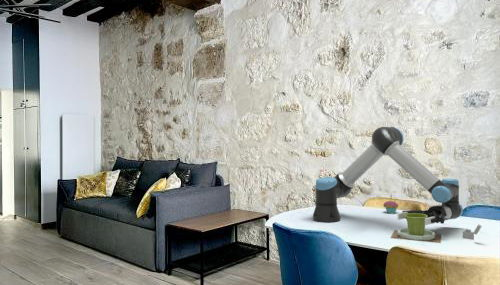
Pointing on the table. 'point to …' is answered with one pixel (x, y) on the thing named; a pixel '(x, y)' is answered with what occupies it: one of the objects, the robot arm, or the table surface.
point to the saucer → (427, 235)
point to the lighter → (469, 234)
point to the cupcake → (391, 206)
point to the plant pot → (416, 223)
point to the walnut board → (435, 240)
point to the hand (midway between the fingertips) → (411, 218)
